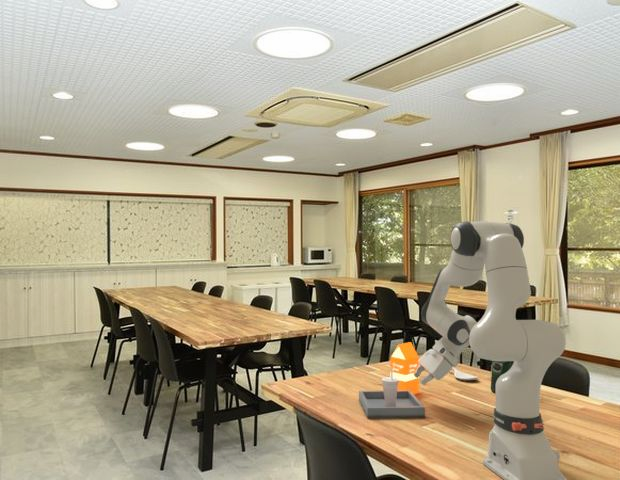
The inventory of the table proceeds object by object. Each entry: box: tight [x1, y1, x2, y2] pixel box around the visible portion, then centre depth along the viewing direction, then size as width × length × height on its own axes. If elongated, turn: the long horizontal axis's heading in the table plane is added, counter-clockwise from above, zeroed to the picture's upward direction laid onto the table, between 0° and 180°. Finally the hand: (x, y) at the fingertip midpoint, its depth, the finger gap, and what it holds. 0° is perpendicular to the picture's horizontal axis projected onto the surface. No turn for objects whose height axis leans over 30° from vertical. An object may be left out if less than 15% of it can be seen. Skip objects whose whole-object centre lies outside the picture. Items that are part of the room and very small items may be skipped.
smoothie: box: [381, 366, 399, 407], centre depth 178 cm, size 6×6×14 cm
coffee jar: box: [490, 361, 514, 394], centre depth 198 cm, size 10×8×19 cm
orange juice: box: [389, 341, 420, 395], centre depth 198 cm, size 8×9×20 cm
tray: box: [358, 390, 426, 419], centre depth 178 cm, size 20×20×4 cm
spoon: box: [451, 367, 479, 382], centre depth 227 cm, size 9×32×4 cm, turn 18°
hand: (418, 379), depth 179 cm, fingers open, 8 cm apart
